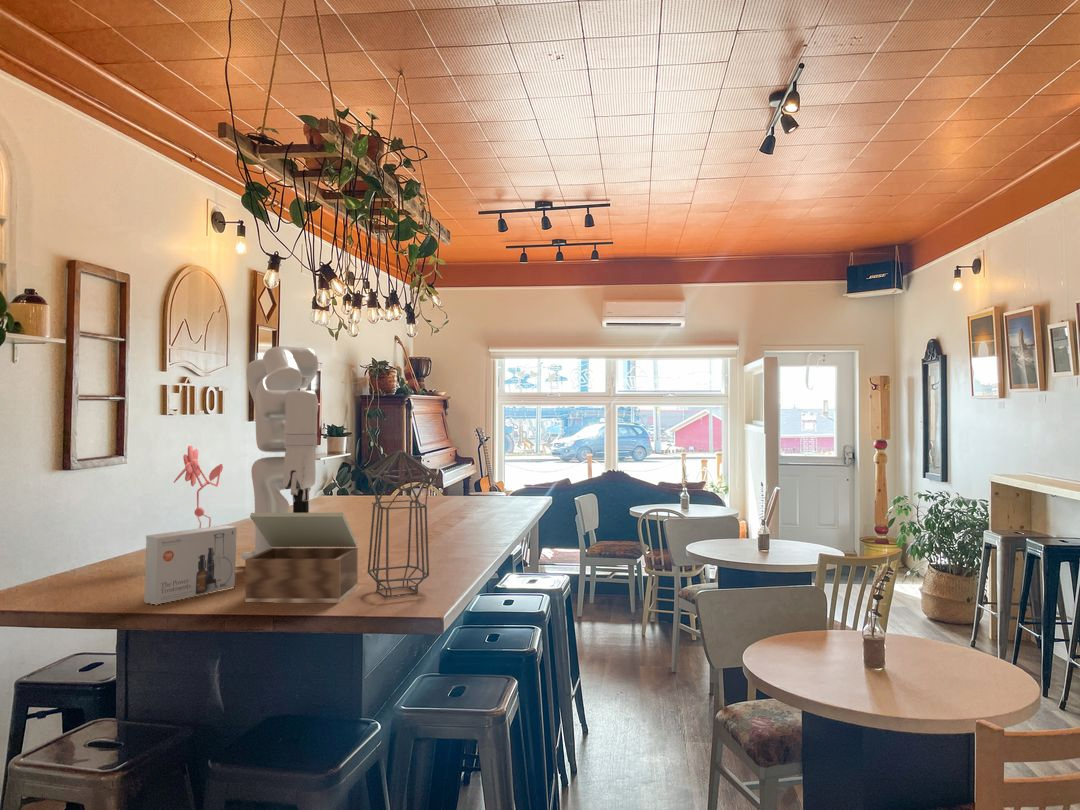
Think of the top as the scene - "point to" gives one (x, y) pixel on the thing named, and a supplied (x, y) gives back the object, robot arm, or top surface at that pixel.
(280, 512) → the robot arm
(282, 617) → the top surface
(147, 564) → the skincare box
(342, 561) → the walnut box
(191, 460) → the figurine
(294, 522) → the lid
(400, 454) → the geometric lantern
